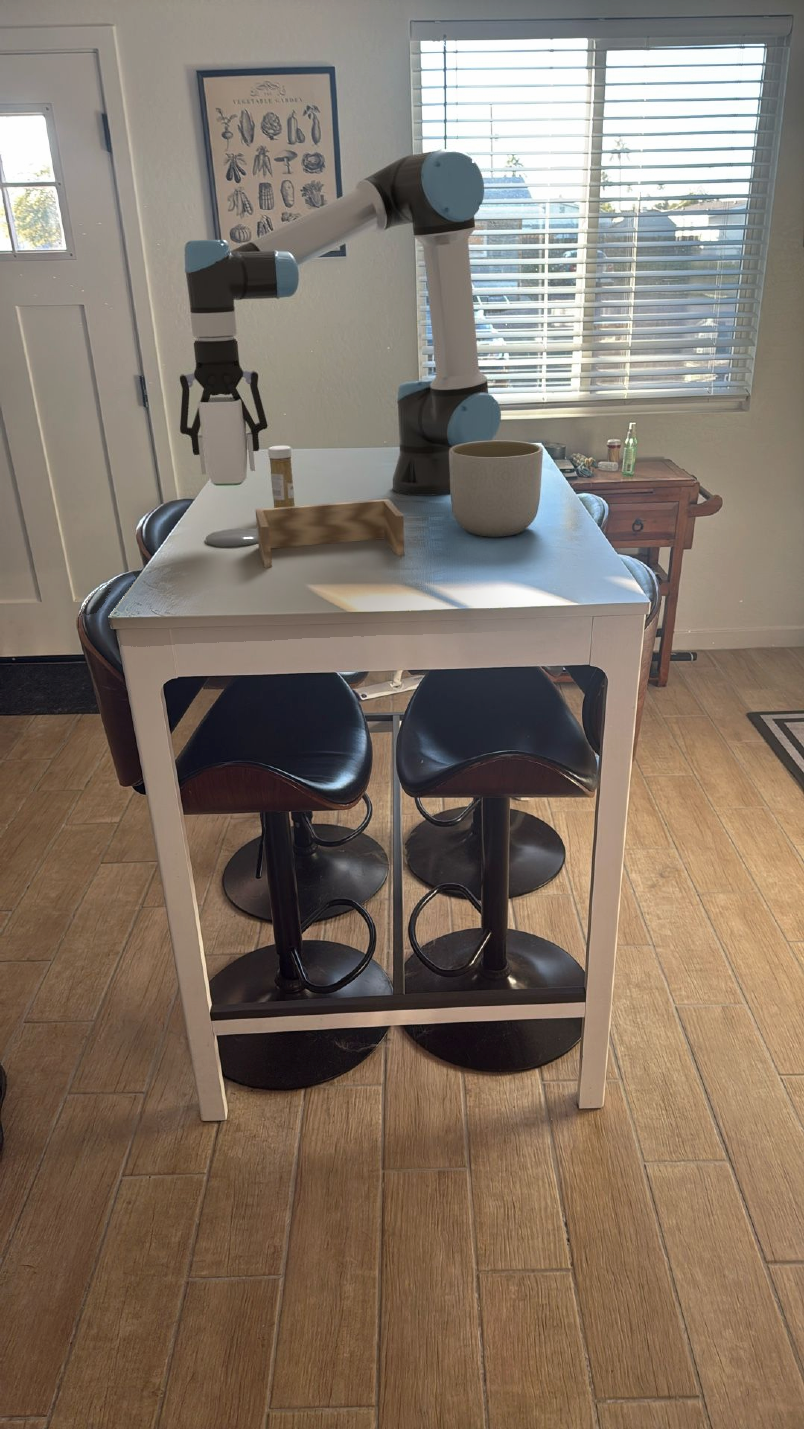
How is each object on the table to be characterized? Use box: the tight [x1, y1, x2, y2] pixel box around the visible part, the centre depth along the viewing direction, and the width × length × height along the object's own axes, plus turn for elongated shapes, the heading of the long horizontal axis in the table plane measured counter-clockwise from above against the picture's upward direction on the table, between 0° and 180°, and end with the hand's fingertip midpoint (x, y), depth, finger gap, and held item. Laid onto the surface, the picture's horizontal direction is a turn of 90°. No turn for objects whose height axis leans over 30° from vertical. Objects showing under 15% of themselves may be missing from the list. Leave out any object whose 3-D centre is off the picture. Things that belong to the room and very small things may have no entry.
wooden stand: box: [255, 498, 405, 568], centre depth 176 cm, size 24×13×7 cm, turn 102°
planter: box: [449, 439, 544, 538], centre depth 184 cm, size 17×17×15 cm
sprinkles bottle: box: [267, 445, 296, 508], centre depth 201 cm, size 5×5×14 cm
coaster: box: [205, 528, 259, 548], centre depth 187 cm, size 11×11×1 cm
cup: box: [197, 396, 248, 487], centre depth 179 cm, size 7×7×15 cm
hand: (228, 471), depth 181 cm, fingers closed on cup, 8 cm apart
